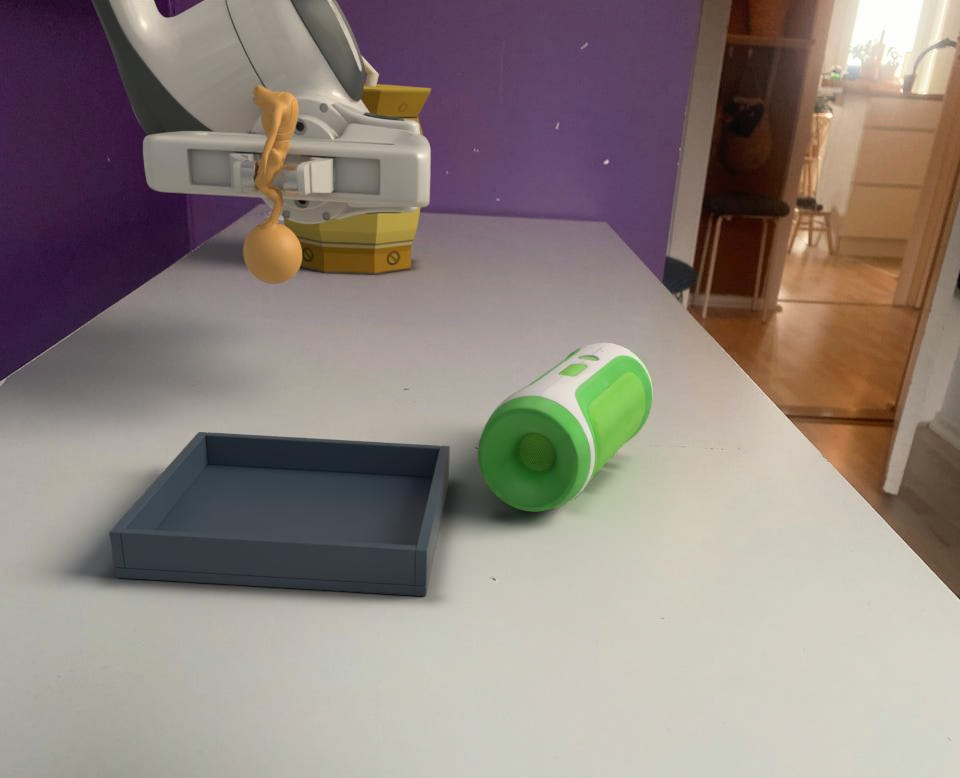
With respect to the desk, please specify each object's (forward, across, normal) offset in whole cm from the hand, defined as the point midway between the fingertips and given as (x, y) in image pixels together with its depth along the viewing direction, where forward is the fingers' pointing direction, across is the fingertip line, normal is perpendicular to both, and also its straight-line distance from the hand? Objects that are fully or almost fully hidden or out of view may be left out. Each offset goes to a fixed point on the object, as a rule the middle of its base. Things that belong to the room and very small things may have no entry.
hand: (269, 179), depth 68 cm
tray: (+18, +5, +17) cm, 25 cm away
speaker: (+7, +21, +17) cm, 28 cm away
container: (-68, -5, +17) cm, 71 cm away
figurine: (-1, +1, +7) cm, 7 cm away
